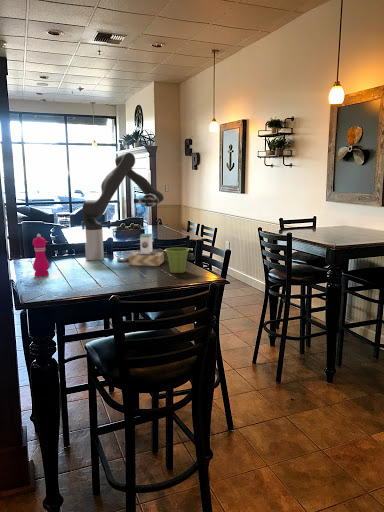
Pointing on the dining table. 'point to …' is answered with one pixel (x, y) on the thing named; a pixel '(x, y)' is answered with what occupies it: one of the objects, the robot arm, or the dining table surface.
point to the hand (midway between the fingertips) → (143, 201)
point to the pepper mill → (40, 257)
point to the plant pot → (177, 259)
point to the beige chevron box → (146, 258)
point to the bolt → (123, 259)
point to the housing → (146, 243)
